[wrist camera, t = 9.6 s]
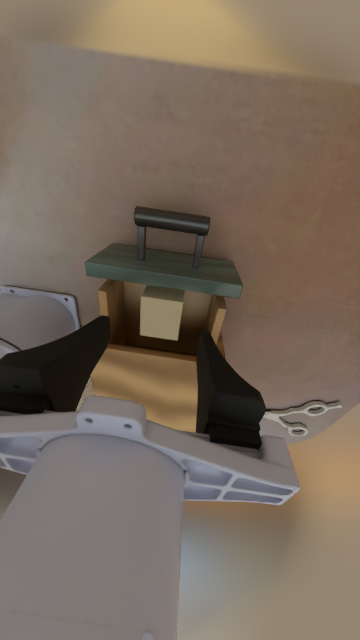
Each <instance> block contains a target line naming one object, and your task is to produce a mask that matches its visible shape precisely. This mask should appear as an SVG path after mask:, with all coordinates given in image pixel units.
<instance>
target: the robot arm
mask: <svg viewBox="0 0 360 640" xmlns="http://www.w3.org/2000/svg"><path fill="white" fill-rule="evenodd" d="M1 291H2V294H1V295H0V468H4V469H8V470H11V471H15V472H19V473H22V474H26V475H27V476H26V478H25V480H24V481H23V483H22V485H21V486H20V488H19V490H18V492H17V493H16V495H15V497H14V499H13V500H12V502H11V503H10V505H9V507H8V508H7V510H6V512H5V513H4V515H3V517H2V518H1V520H0V640H176V638H177V620H178V600H179V599H178V598H179V579H180V558H181V539H182V519H183V500H194V501H197V500H198V501H237V502H255V503H265V504H274V505H281V504H283V503H284V502H285V501H286V500H288V499H289V498H290V497H291V496H293V495H294V494H295V493H296V492H298V491H299V490H300V489H301V487H300V485H299V481H298V478H297V475H296V472H295V469H294V467H293V463H292V460H291V457H290V455H289V452H288V449H287V446H286V443H285V440H284V439H283V438H280V437H273V436H261V437H260V434H259V431H260V425H259V422H260V421H261V419H262V418H263V416H264V414H265V412H266V407H265V404H264V401H263V398H262V396H261V394H260V392H259V391H258V390H256V389H255V388H254V387H252V386H251V385H250V384H248V383H247V382H246V381H245V380H244V379H243V378H241V377H240V376H239V375H238V374H237V373H236V372H235V371H234V370H233V368H232V367H231V366H230V365H229V364H228V362H227V361H226V360H225V358H224V357H223V355H222V354H221V352H220V351H219V349H218V347H217V345H216V344H215V342H214V340H213V338H212V335H211V333H210V332H207V331H202V332H201V336H200V340H199V344H198V349H197V359H196V365H197V382H198V400H197V418H196V433H194V432H188V431H181V430H175V429H173V428H170V427H167V426H164V425H161V424H159V423H156V422H153V421H150V420H148V419H146V410H145V407H144V406H142V405H141V404H140V403H138V402H135V401H131V400H124V399H117V398H111V397H104V396H89V397H87V398H86V399H85V400H84V402H83V404H82V406H81V407H80V409H79V411H76V408H77V406H78V403H79V401H80V398H81V396H82V393H83V391H84V389H85V386H86V384H87V382H88V380H89V378H90V375H91V373H92V372H93V370H94V368H95V367H96V365H97V363H98V362H99V360H100V358H101V357H102V355H103V353H104V351H105V350H106V348H107V346H108V343H109V341H110V338H111V330H110V317H109V316H103V315H101V316H100V317H98V318H96V319H95V320H93V321H91V322H90V323H88V324H86V325H85V326H83V327H81V328H80V323H79V317H78V312H77V306H76V301H75V298H74V297H73V296H71V295H65V294H58V293H51V292H45V291H38V290H31V289H25V288H18V287H11V286H2V287H1ZM66 298H67V299H68V300H67V299H66Z"/></svg>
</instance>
